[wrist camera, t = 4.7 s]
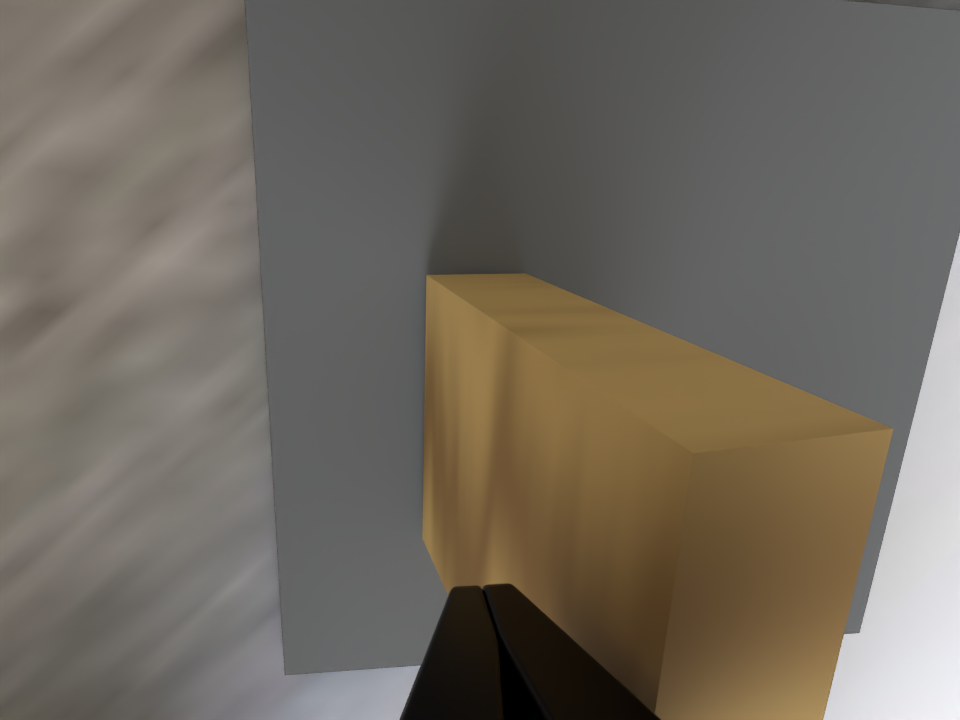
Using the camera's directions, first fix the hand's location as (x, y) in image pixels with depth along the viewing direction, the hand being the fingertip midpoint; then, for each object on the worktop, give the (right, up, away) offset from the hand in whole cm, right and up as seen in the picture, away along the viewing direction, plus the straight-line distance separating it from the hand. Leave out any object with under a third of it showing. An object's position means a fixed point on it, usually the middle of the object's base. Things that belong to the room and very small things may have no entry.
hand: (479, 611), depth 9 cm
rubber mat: (+4, +3, +9) cm, 10 cm away
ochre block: (0, +2, +8) cm, 8 cm away
